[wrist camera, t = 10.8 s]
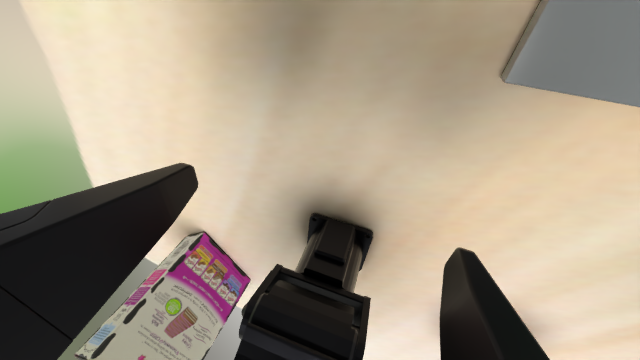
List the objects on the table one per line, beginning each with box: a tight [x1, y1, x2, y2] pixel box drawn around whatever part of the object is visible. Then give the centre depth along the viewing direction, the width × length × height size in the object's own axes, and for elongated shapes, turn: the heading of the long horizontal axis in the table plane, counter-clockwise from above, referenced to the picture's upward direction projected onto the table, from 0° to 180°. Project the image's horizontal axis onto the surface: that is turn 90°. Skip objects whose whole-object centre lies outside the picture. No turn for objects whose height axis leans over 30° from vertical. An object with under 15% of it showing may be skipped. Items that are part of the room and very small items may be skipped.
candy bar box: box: [74, 232, 250, 360], centre depth 33 cm, size 11×5×16 cm, turn 32°
